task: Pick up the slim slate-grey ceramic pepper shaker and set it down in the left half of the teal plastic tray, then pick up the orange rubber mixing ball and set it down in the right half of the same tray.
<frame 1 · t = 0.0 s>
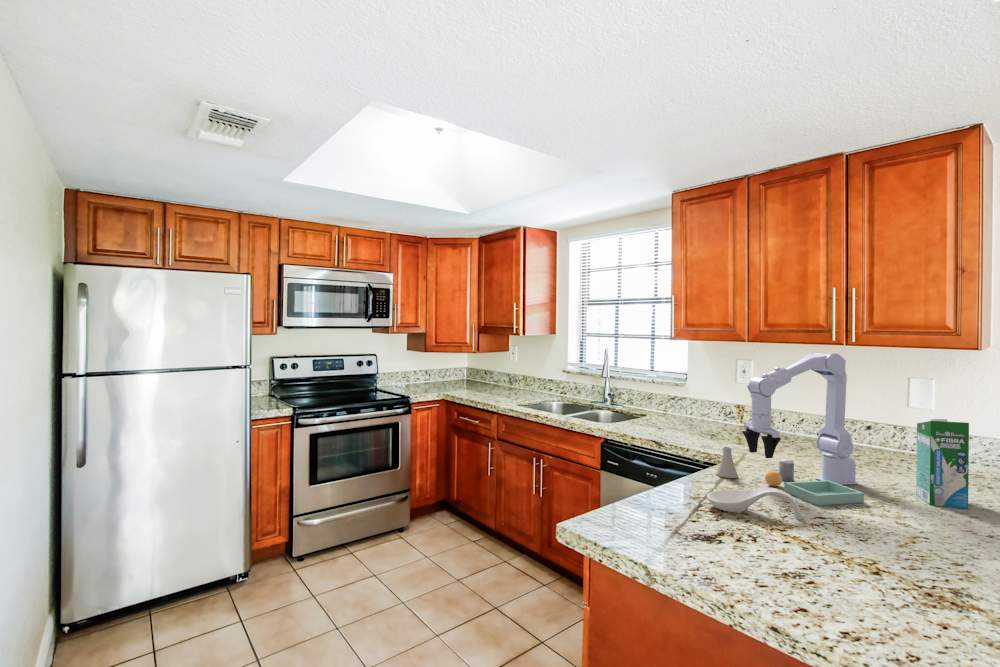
hand: (760, 455, 165), 10 cm above the countertop, fingers open, 7 cm apart
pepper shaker: (786, 480, 171), on the countertop
ball: (773, 478, 165), point 2 cm above the countertop
milk carton: (941, 502, 150), on the countertop
tray: (822, 497, 154), on the countertop
flask: (727, 476, 176), on the countertop
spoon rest: (751, 513, 141), on the countertop
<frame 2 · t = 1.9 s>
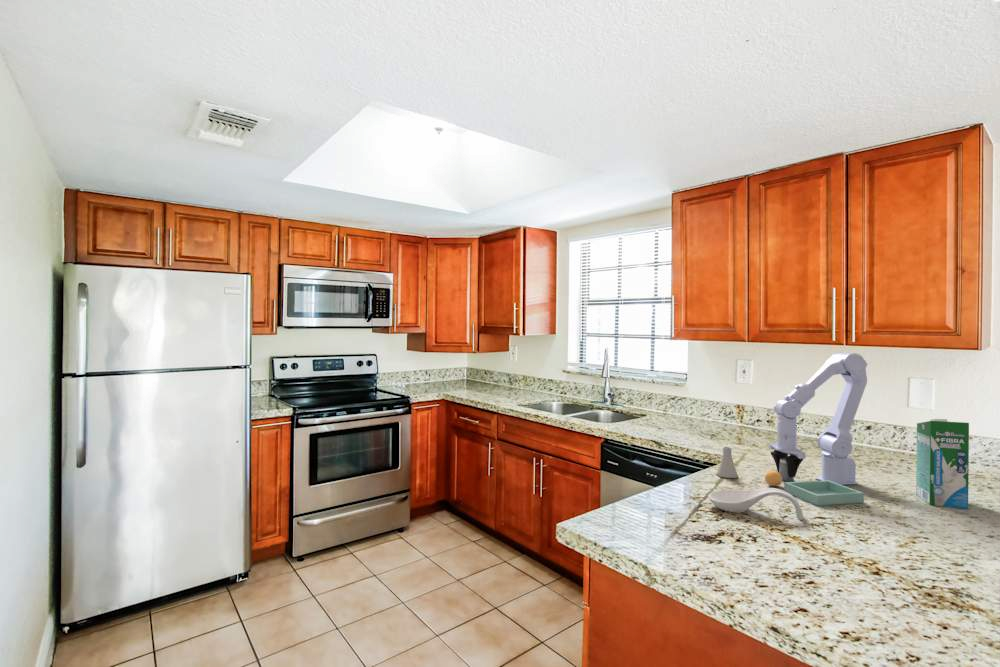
hand: (786, 474, 171), 2 cm above the countertop, fingers closed on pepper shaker, 4 cm apart
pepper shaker: (786, 480, 171), on the countertop, touching gripper
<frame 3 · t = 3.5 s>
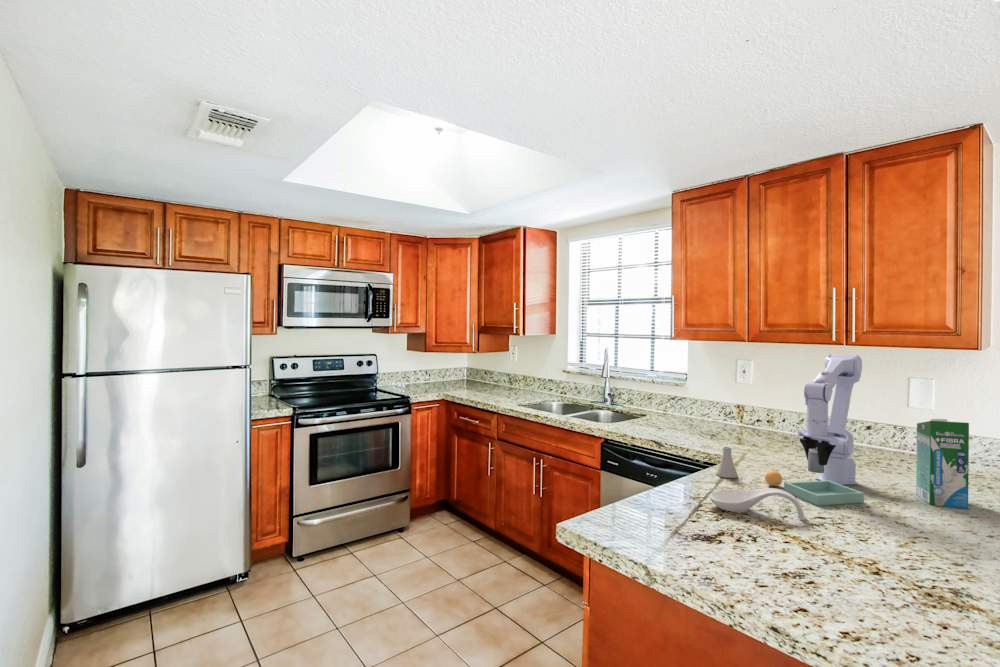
hand: (817, 462, 160), 9 cm above the countertop, fingers closed on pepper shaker, 4 cm apart
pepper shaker: (816, 471, 160), point 6 cm above the countertop, touching gripper
when the fingers open (3 cm above the countertop, at t = 5.4 s): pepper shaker stays where it is, resting on tray.
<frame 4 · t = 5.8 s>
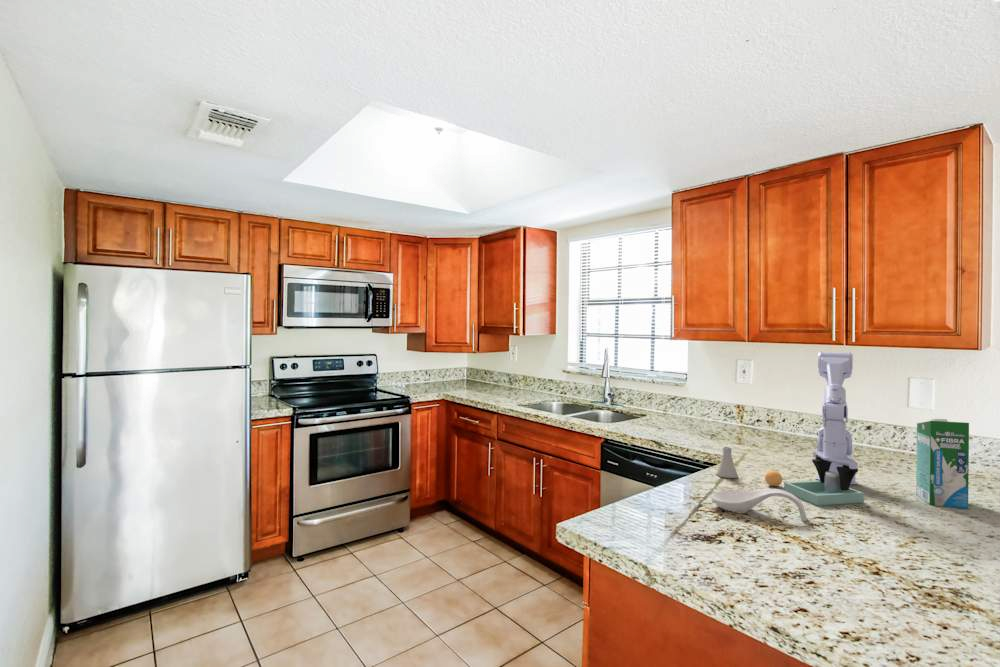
hand: (834, 486, 154), 3 cm above the countertop, fingers open, 7 cm apart
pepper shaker: (832, 495, 154), resting on tray
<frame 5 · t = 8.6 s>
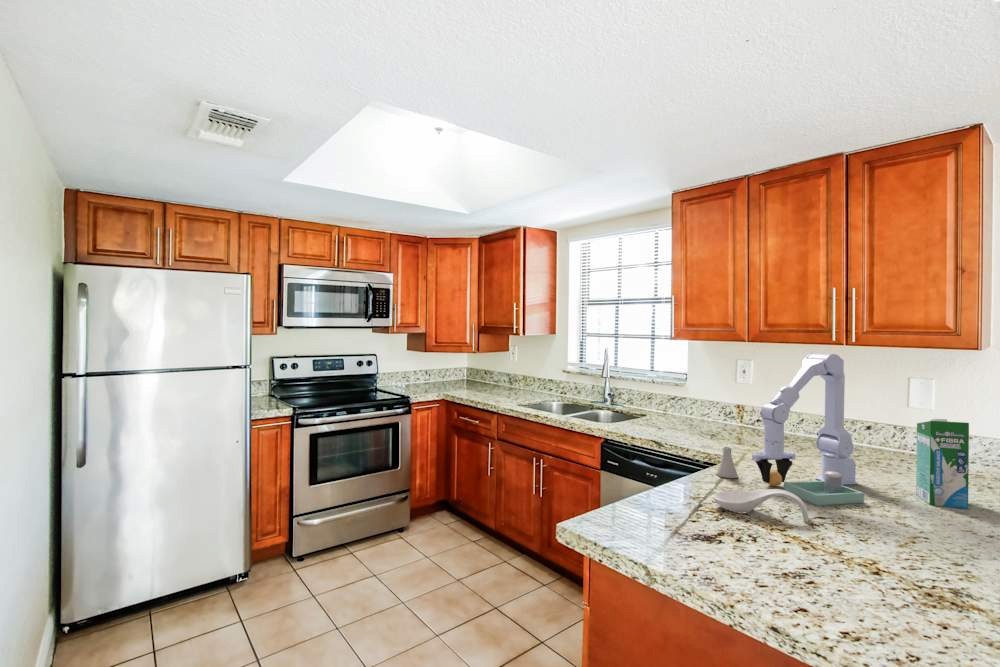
hand: (773, 481, 165), 1 cm above the countertop, fingers closed on ball, 5 cm apart
ball: (773, 478, 165), point 2 cm above the countertop, touching gripper
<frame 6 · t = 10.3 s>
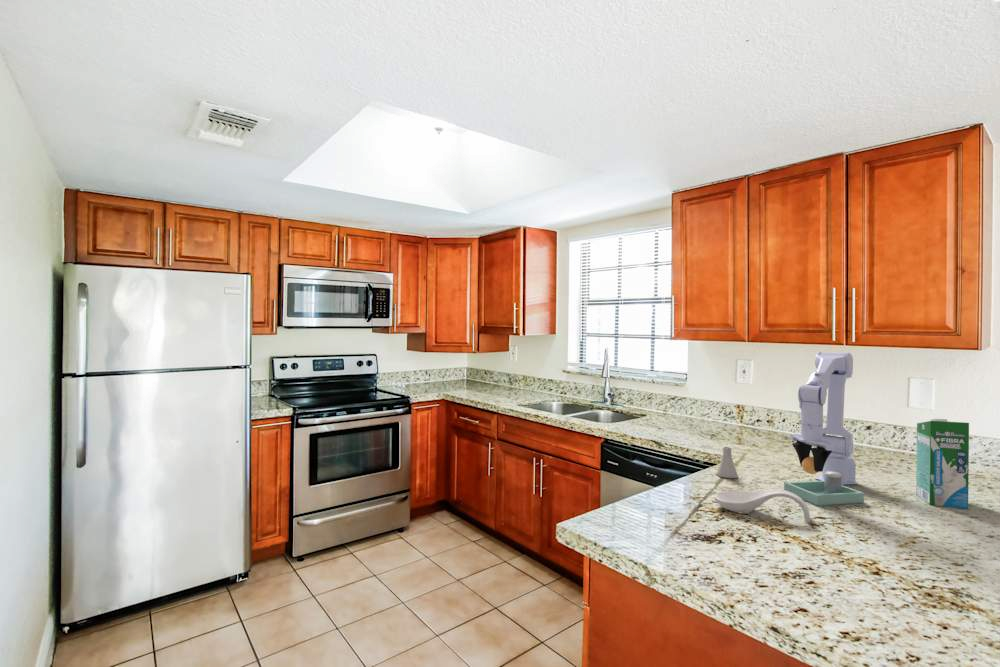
hand: (811, 468, 153), 9 cm above the countertop, fingers closed on ball, 5 cm apart
ball: (811, 465, 153), point 10 cm above the countertop, touching gripper
when the fingers open (3 cm above the countertop, at t = 12.0 s): ball stays where it is, resting on tray.
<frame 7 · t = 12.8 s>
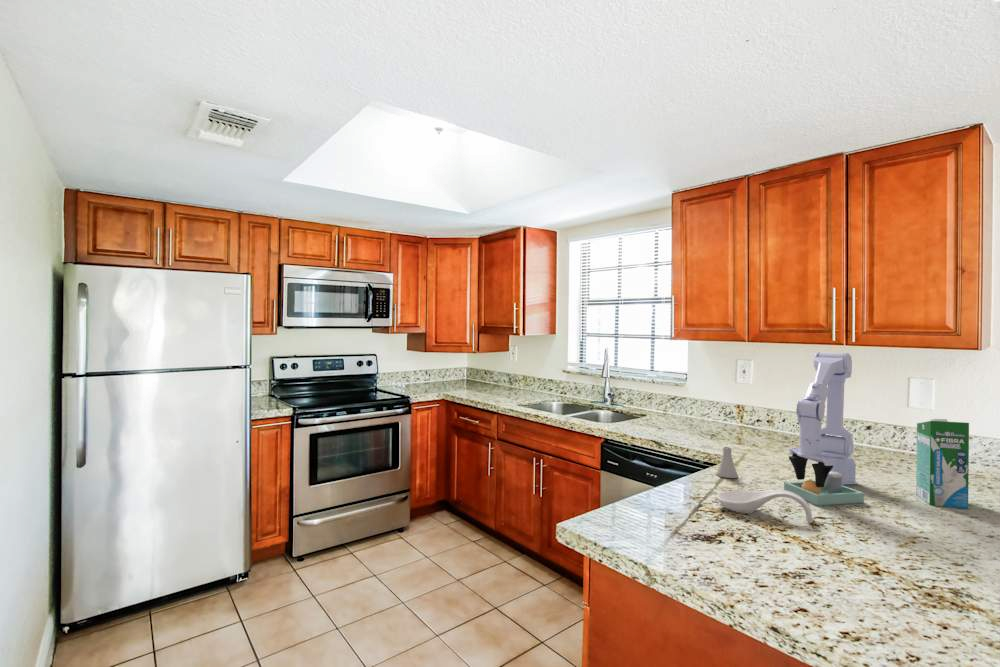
hand: (810, 483, 155), 4 cm above the countertop, fingers open, 7 cm apart
ball: (811, 488, 153), point 3 cm above the countertop, touching gripper, tray
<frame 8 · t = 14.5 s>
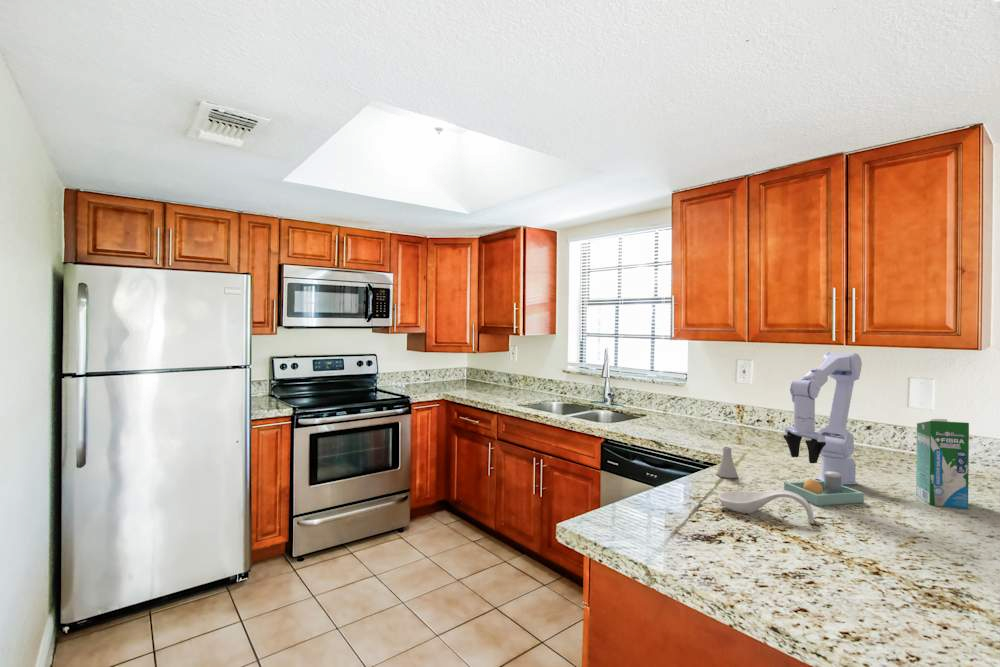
hand: (803, 459, 160), 10 cm above the countertop, fingers open, 7 cm apart
ball: (812, 488, 153), point 3 cm above the countertop, tilted 17°, touching tray
at the end: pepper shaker inside the target area on the tray (3.6 cm from its centre), point 0.3 cm above the tray's base; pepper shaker tilted 1°; ball inside the target area on the tray (3.2 cm from its centre), point 2.8 cm above the tray's base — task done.
